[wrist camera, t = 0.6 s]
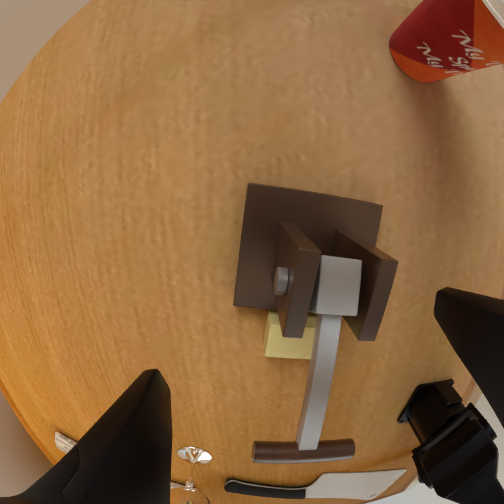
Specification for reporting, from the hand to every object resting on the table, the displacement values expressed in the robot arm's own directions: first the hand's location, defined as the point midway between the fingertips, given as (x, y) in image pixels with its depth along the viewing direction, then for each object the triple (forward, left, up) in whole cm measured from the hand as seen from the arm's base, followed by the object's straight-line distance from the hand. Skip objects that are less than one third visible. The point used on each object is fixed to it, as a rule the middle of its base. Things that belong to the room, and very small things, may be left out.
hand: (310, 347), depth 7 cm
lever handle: (-5, -3, -6) cm, 8 cm away
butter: (-7, -3, -14) cm, 16 cm away
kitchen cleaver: (-37, -15, -14) cm, 43 cm away
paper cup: (+19, -11, -14) cm, 25 cm away
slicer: (0, -3, -14) cm, 14 cm away
